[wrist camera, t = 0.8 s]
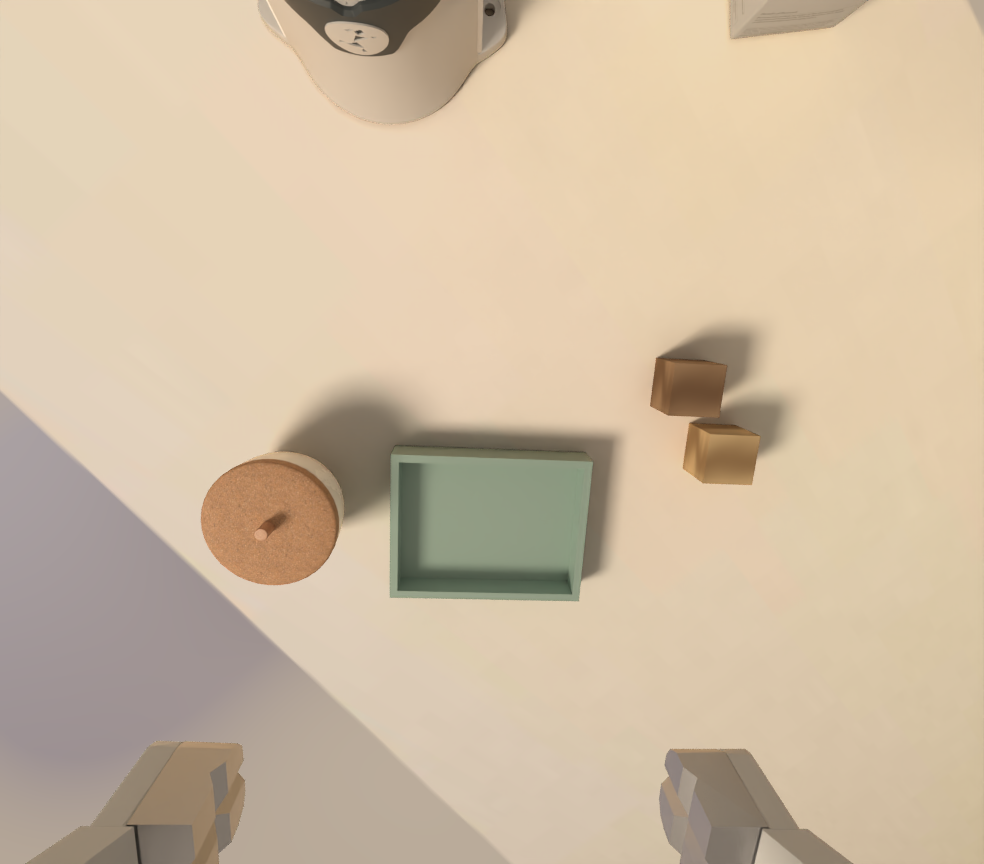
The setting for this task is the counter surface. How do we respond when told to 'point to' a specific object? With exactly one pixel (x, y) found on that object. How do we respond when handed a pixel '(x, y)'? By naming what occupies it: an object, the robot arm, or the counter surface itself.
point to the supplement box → (786, 15)
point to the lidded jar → (273, 518)
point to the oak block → (721, 453)
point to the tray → (487, 523)
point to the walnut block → (688, 387)
